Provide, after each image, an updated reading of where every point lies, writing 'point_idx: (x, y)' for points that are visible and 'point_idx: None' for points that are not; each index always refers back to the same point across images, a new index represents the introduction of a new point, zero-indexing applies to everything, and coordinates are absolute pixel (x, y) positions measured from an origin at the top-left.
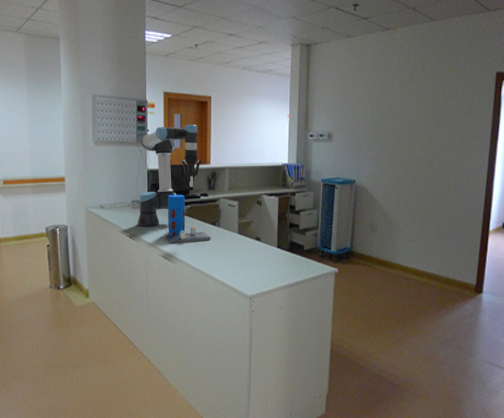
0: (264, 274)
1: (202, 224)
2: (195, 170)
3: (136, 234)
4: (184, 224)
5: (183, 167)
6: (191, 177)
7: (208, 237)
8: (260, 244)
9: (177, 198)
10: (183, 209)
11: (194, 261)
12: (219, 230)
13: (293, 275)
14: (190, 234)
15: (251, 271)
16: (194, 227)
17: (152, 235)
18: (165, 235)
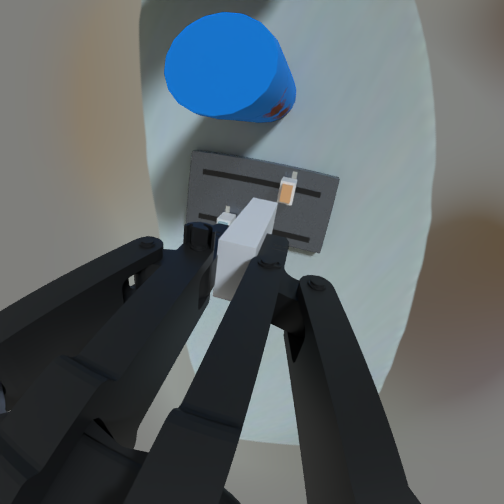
0: (266, 426)
1: (413, 38)
2: (309, 346)
3: (140, 72)
4: (287, 109)
5: (34, 301)
6: (227, 293)
7: (313, 250)
8: (392, 347)
9: (206, 115)
10: (268, 112)
11: (199, 355)
12: (423, 155)
13: (295, 439)
14: (276, 188)
15: (258, 416)
16: (287, 202)
17: (175, 99)
18: (193, 158)
